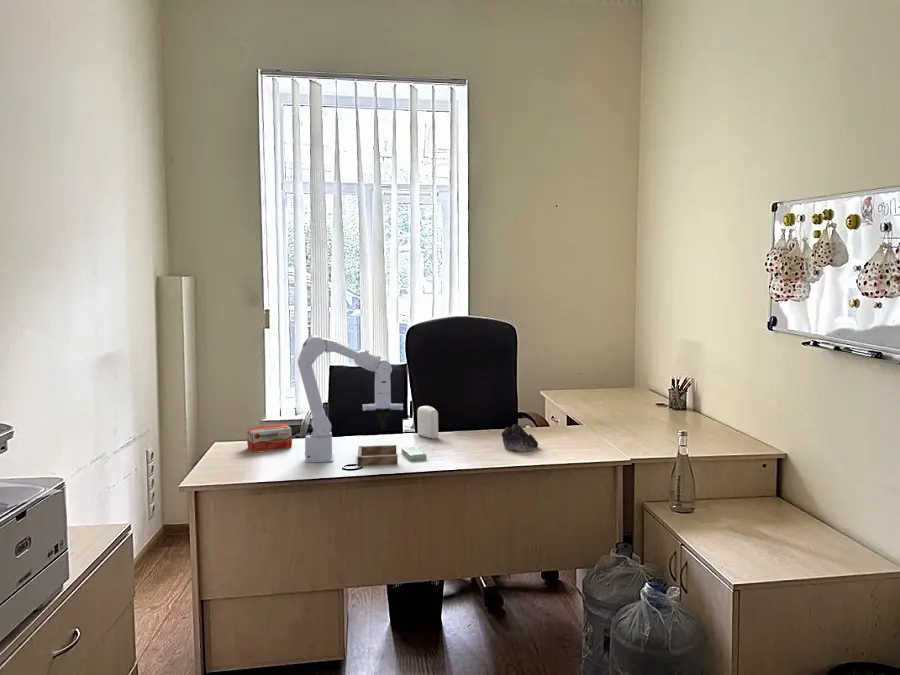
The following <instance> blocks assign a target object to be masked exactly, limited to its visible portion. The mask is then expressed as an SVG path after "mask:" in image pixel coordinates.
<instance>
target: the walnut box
mask: <svg viewBox="0 0 900 675" xmlns="http://www.w3.org/2000/svg"><path fill="white" fill-rule="evenodd" d="M357 447H358V449H357V466H358V467H359V466H361V467H362V466H386V465H387V466H388V465H389V466H391V465H392V466H393V465H398V463H399V460H398V459H399V458H398V454H397V444H386V445H385V444H382V445H359V446H357Z"/></svg>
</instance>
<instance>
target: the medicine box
mask: <svg viewBox="0 0 900 675" xmlns="http://www.w3.org/2000/svg"><path fill="white" fill-rule="evenodd" d="M292 431H293V430H292V427H290V426H289V425H288V424H286V423H282V424H281V423H280V424H279V423H278V424H272V425H263V426H255V427H248V428H247V430H246V443H247V444H246V445H247V449H249V450H250V452H256V453H260V452H259V451H264V452H270V451H269V450H272V451H280V450H286V448H287V449H291V448H292V446H293V432H292Z"/></svg>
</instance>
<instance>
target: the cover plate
mask: <svg viewBox="0 0 900 675" xmlns="http://www.w3.org/2000/svg"><path fill="white" fill-rule="evenodd" d="M401 455H402V456H403V457H405V458H406V459H407V460H408V461H409V462H415V461H416V462H417V461H426V460H427V459H428V458H427V453H426V452H425V451H424V450H422V449H421V448H420V447H419V446H410V447H409V446H408V447H402V448H401Z"/></svg>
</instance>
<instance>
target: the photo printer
mask: <svg viewBox="0 0 900 675" xmlns="http://www.w3.org/2000/svg"><path fill="white" fill-rule="evenodd" d="M416 412H417V435H418V436H421V437H424V438H428V439H437V438H439V412H438V410H437V409H435V408H434V407H433V406H430V405H423V406H419V407H418V408H417V411H416Z"/></svg>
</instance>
